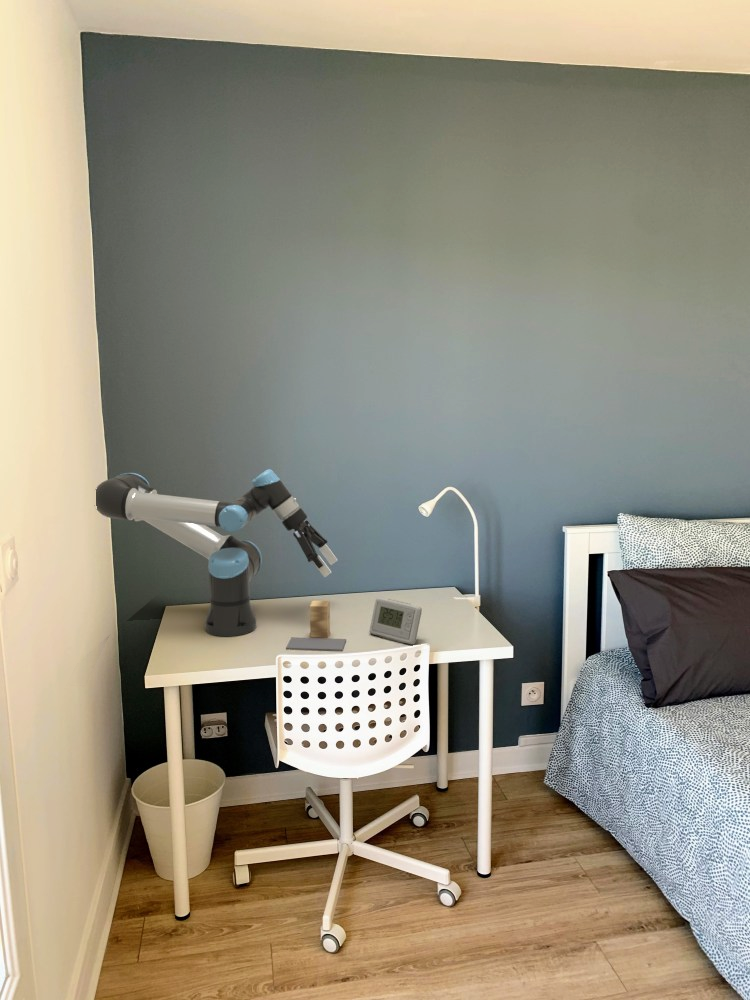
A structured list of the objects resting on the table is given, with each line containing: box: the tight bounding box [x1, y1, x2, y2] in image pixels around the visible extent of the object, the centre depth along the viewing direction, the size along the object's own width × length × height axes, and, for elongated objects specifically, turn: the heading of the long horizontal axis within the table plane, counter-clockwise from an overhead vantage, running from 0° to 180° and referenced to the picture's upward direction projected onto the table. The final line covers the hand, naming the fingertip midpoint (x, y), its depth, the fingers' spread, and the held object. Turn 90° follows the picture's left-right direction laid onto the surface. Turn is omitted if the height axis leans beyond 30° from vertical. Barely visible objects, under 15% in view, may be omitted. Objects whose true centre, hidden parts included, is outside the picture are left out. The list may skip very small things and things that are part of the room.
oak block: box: [309, 600, 331, 638], centre depth 225 cm, size 5×5×10 cm
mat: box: [285, 637, 347, 652], centre depth 220 cm, size 16×8×1 cm, turn 85°
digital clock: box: [369, 597, 423, 645], centre depth 224 cm, size 16×9×11 cm, turn 42°
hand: (331, 568), depth 241 cm, fingers open, 13 cm apart
